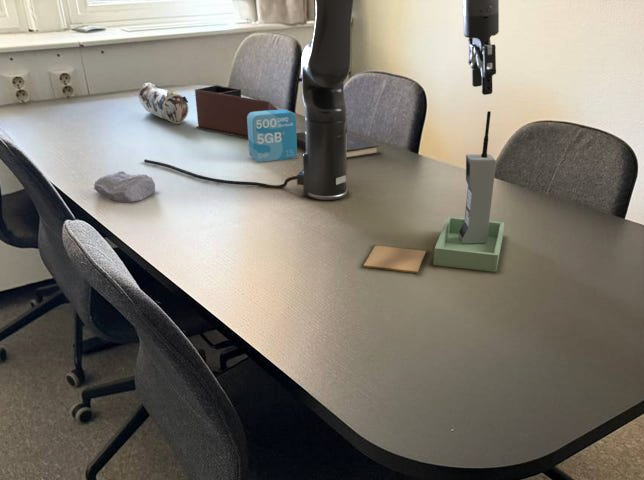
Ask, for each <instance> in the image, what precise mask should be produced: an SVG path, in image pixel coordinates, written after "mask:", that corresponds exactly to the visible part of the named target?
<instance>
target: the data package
mask: <svg viewBox="0 0 644 480" xmlns="http://www.w3.org/2000/svg"><path fill="white" fill-rule="evenodd" d="M247 125H248V138H247V139H248V153H249V156H250V157H251V158H252V159H254V160H255V161H257V162H258V163H264V162H265V163H266V162H273V161H282V160H292V159H294V158H296V156H297V154H298V146H297V136H296V133H297V116H296V114H295V113H294V112H292V111H290V110H289V109H286V108H281V109H280V108H279V109H278V110H268V111H256V112H250V113H249V114H248V116H247Z"/></svg>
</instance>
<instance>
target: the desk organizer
mask: <svg viewBox="0 0 644 480" xmlns="http://www.w3.org/2000/svg"><path fill="white" fill-rule="evenodd" d="M194 96H195V106H196V115H197V117H196V118H197V126H196V129H198V130H199V129H200V130H204V131H210V132H215V133H219V134H224V135H230V136H235V137H240V138H244V139H248V125H247V116H248V114H249V113H250V112H256V111H268V110H279V108H277V106H275V105H274V104H273V103H271V102H270V101H266V100H261V99H256V98H255V99H254V98H249V97H243V96H242V89H241V88H236V87H230V86H224V85H218V84H216V85H215V84H214V85H211V86H206V87H201V88H196V89H194Z"/></svg>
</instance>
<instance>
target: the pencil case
mask: <svg viewBox="0 0 644 480" xmlns="http://www.w3.org/2000/svg"><path fill="white" fill-rule="evenodd" d="M138 100H139V103H140V105H141V106H142V107H143V108H144V109H145V110H146V112H148V113H151V114H152V115H154V116H156V117H159V118H160V119H163V120H165V121H168V122H170V123H172V124H178V125H179V124H181V123H183V122H184V121H185V120H186V118H187V116H188V114H189V105H188V103H189V101H188V99H187V97H186V96H183V95H182V94H179V93H177V92H174V90H170V91H169V90H167V89H163V88H160V86H158V85H157V84H154V83H151V82H146V83H143V86H142V87H141V88H140V90H139V93H138Z"/></svg>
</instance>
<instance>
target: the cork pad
mask: <svg viewBox="0 0 644 480" xmlns="http://www.w3.org/2000/svg"><path fill="white" fill-rule="evenodd" d="M426 254H427V250H420V249H412V248H404V247H393V246H384V245H377V244H376V245H375V246H374V247H373V249H372V250H371V252H370V253H369V256H368V257H367V259H366V260H365V262H364V264H363V268H367V269H377V270H385V271H393V272H401V273H409V274H418V273H419V271H420V267H421V266H422V264H423V261H424V258H425V256H426Z"/></svg>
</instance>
